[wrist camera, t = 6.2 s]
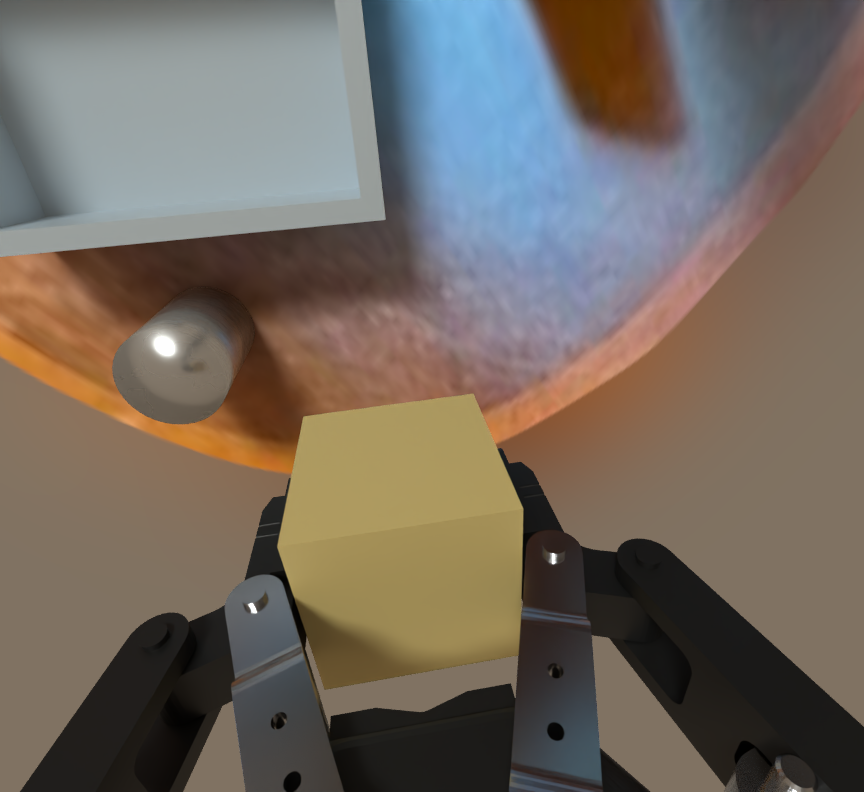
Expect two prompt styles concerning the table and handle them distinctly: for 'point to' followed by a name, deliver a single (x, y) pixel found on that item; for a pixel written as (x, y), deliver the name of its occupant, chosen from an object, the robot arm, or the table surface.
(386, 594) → the ochre cube
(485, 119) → the table surface
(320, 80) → the tote
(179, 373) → the metal cylinder
